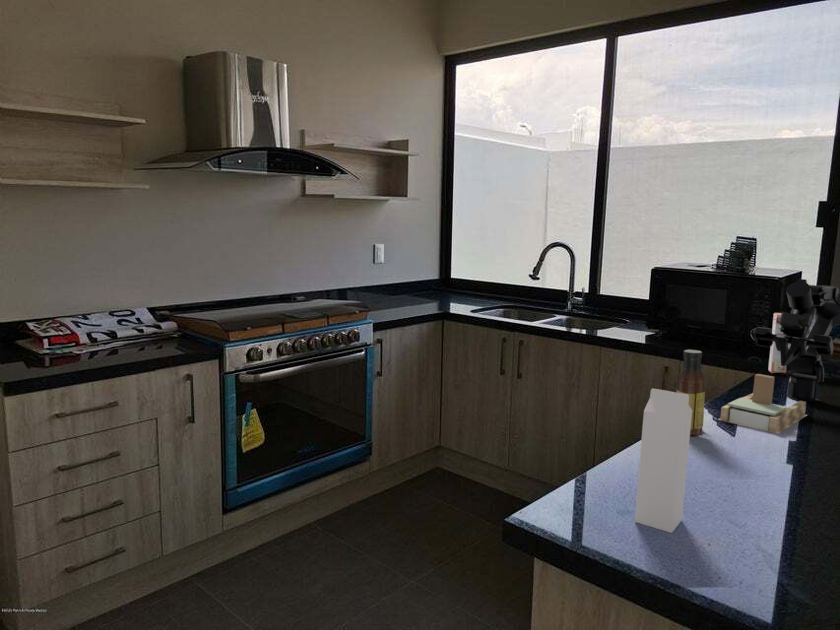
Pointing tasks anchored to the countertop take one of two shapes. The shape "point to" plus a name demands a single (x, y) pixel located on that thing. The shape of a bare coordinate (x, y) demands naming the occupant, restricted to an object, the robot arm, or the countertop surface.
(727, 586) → the countertop surface
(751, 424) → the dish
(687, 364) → the sauce bottle
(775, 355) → the cracker box
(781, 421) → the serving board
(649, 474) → the milk
